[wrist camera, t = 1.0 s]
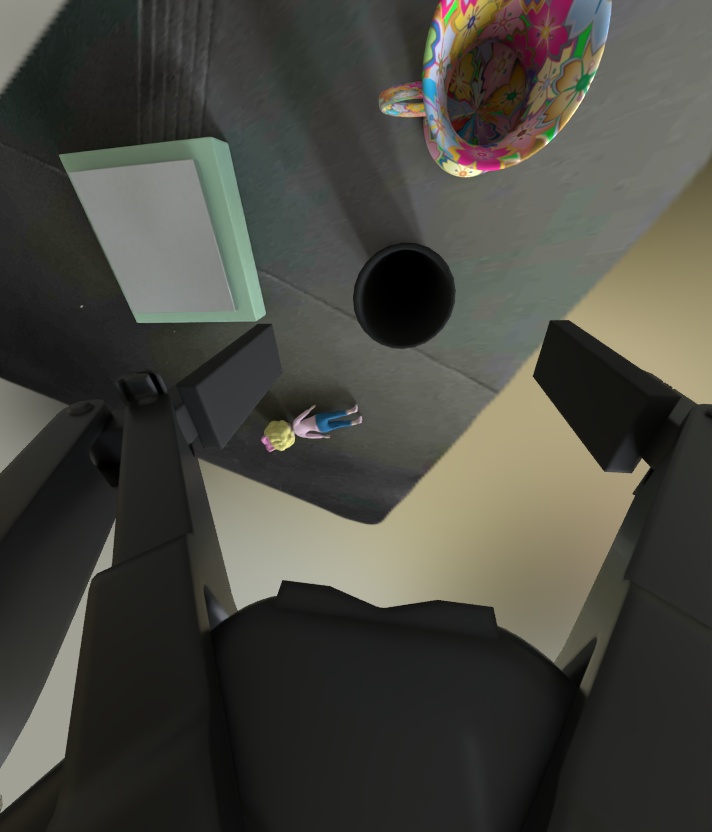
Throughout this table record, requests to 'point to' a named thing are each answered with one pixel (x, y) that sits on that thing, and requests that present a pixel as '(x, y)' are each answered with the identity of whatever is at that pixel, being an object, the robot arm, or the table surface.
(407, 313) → the cup
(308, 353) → the table surface
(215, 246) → the pan
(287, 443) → the figurine
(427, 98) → the mug
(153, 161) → the scale
